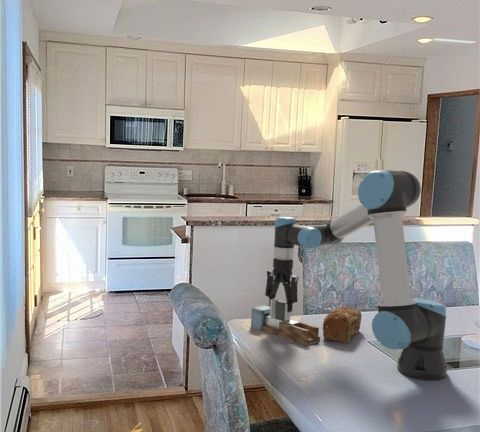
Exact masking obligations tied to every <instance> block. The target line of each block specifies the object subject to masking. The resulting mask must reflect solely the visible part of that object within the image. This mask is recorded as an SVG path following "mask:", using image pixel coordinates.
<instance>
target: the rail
mask: <svg viewBox="0 0 480 432" xmlns="http://www.w3.org/2000/svg"><path fill="white" fill-rule="evenodd" d="M290 320H294V321H297V322H299V327H297V326H293V325H290V324H287V323H284V322H279V329H276V328H273V327H270V326H267V325H263V326H261V330H260V331H262V332H266V333H268V334H271V335H274V336H277V337H281V338H284V339H287V340H290V341H292V342H296V343H298V344H302V345H305V346H309V345H312V344H314V343H317V341H318V342H320V341H321V336H319V333H320V332H319V331H320V327H319V326H316V325H312V324H309V323H306V322H302V321H300V320H296V319H293V318H290Z"/></svg>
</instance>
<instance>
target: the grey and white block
mask: <svg viewBox="0 0 480 432" xmlns="http://www.w3.org/2000/svg"><path fill="white" fill-rule="evenodd" d="M285 303H287V300H286V299H284V298H282V299H278V300H277V301H276V306H275V315H274V316H270V313H267V314H264V320H263V325H267V326H270V327H273V328H276V329H279V322H284V323H287V324H290V325H293V326H297V327H299V322H300V321H299V322H297V321H298V320H296V321H294V320H295V319H293V320H287V321H285V320H284V315H285Z"/></svg>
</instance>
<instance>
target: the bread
mask: <svg viewBox="0 0 480 432" xmlns="http://www.w3.org/2000/svg"><path fill="white" fill-rule="evenodd" d="M361 323H362V312H361V311H360V310H359V309H354V308H352V307H345V306H341V307H340V308H339V307H337V308H335V309H332V310H331V311H329V313H327V315H326V317H325V318H324V319H323V323H322V332H323V333H322V336H323V338H324V339H326V340H327V341H332V342H337V343H342V344H346V343H349V342H350V341H351V340H352V339H353V338H354V337H355V336H356V335H357V334H358V333H359V332H360V331H359V330H360V329H361Z"/></svg>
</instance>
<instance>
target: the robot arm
mask: <svg viewBox="0 0 480 432" xmlns="http://www.w3.org/2000/svg"><path fill="white" fill-rule="evenodd" d="M421 186H422V185H421V182H420V181H419V179H418V178H417V177H416V175H414V174H413V173H411V172H409V171H405V170H390V169H387V170H386V169H379V170H372V171H370V172H368V173H367V174H365V175H364V176H363V177H362V180H360V182H359V186H358V189H357V197H358V201H359V202H360V204H359V205H357V206H355V207H353V208H351V209H349V210H348V211H346V212H345V213H342V214H341V215H339V216H337V217H336V218H334V219H332V220H330V221H329V222H327V223H325V224H316V225H315V224H313V225H302V224H297V221H296V218H295V217H293V216H292V217H290V216H278V217H276V219H275V224H274V241H273V242H274V244H273V254H272V255H273V256H272V257H273V259H272V268H273V269H272V270H271V269H270V270H267V271H266V278H267V279H266V286H265V293H264V295H265V296H266V297H268V306H270V316H274V315H275V306H276V301H277V298H276V297H277V293H278V290H279V287H280V284H282V286H283V289H284V293H285V300H287V303H285V315H284V320H285V321H287V320H290V319H291V313H292V312H293V304H295V303H298V282H299V276H297V275H296V276H295V275H294V274H293V269H294V259H293V258H294V253H295V252H294V251H295V246H299V247H301V248H305V249H316V248H317V247H319V246H327V245H328V246H329V245H330V246H331V245H332V246H333V245H336V244H340V243H342V242H343V240H344V239H345V237H347V236H349V235H351V234H353V233H355V232H357V231H358V230H361V229H363V228H365V227H367V226H369V225H371V224H372V223H373V228H374V235H375V236H374V238H375V246H376V247H375V249H376V256H377V257H376V258H377V264H378V273H379V284H380V293H381V299H380V300H379V301H378V303H377V313H376V314H375V316H374V318H373V319H372V322H371V329H372V333H373V336H374V337H375V339H376V341H377V342H379V343H380V344H381V346H383V347H384V348H386V349H389V350H401V352H400V353H401V354H400V356H399V357H398V359H397V366H396V367H397V370H398V371H399V372H400V373H402V374H404V375H406V376H409V377H412V378H414V379H421V380H427V381H429V380H430V381H435V380H442V379H445V378H446V377H447V370H448V368H447V364H446V363H447V362H446V360H445V355H444V341H445V340H444V339H445V331H446V330H445V329H446V320H447V307H446V306H445V305H444V304H443V303H440V302H437V301H434V300H429V299H424V298H418V297H417V298H416V297H412V296H411V295H412V293H411V287H410V285H411V284H410V278H409V267H408V266H409V265H408V260H407V249H406V241H405V240H406V239H405V232H404V223H403V217H404V216H405V215H406V214H407V209H408V208H410V207H412V206H413V205H415V203H417V201H418V200H419V198H420V195H421V194H422V193H421V191H422V188H421Z"/></svg>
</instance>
